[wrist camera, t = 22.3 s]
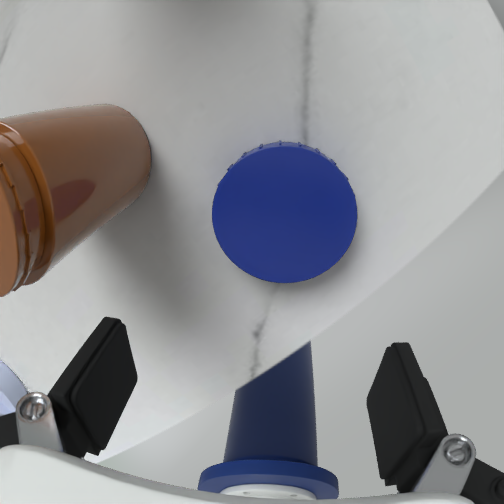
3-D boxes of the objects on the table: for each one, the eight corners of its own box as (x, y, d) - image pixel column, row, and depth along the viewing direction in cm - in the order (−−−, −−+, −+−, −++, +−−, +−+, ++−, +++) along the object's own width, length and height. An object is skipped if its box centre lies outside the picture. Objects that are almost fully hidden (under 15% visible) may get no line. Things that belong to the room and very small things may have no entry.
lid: (193, 178, 17) (184, 187, 16) (317, 118, 15) (322, 119, 14) (255, 285, 20) (252, 302, 18) (369, 238, 18) (377, 252, 16)
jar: (172, 178, 17) (60, 269, 8) (93, 229, 19) (-14, 325, 10) (117, 81, 15) (-31, 85, 6) (45, 145, 17) (-84, 196, 7)
